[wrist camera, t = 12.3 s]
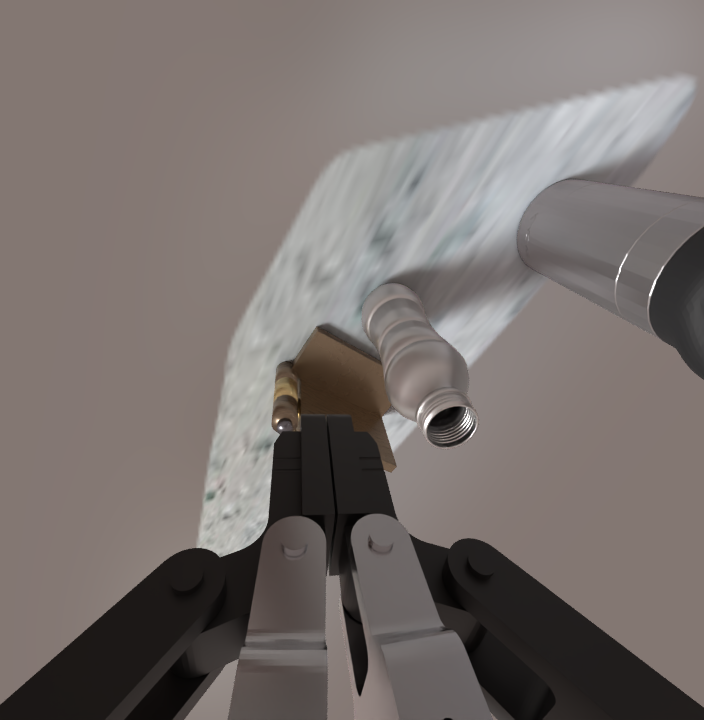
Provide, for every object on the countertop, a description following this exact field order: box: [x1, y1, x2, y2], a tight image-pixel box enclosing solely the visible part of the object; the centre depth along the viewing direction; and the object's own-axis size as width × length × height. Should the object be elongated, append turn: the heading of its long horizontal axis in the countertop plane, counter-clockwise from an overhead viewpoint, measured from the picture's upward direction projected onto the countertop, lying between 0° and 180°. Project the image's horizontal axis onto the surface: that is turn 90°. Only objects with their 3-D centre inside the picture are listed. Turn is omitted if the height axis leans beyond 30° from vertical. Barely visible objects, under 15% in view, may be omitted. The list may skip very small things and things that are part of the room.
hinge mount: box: [272, 327, 396, 472], centre depth 41 cm, size 8×14×10 cm, turn 56°
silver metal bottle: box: [362, 283, 479, 449], centre depth 33 cm, size 6×7×20 cm
